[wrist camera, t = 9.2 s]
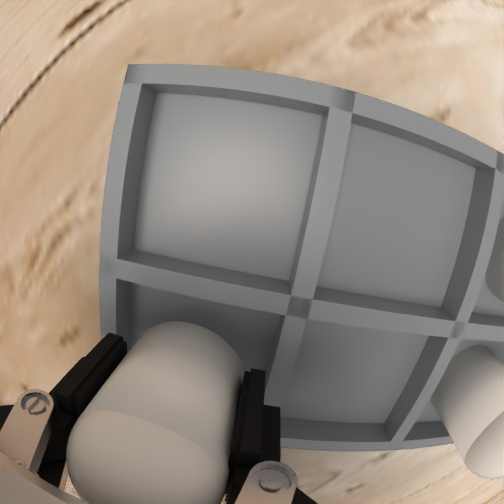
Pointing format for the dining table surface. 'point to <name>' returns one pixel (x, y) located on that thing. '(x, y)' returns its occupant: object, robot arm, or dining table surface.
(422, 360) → the egg carton
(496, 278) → the seated egg
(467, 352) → the seated egg
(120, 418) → the loose egg
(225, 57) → the dining table surface
